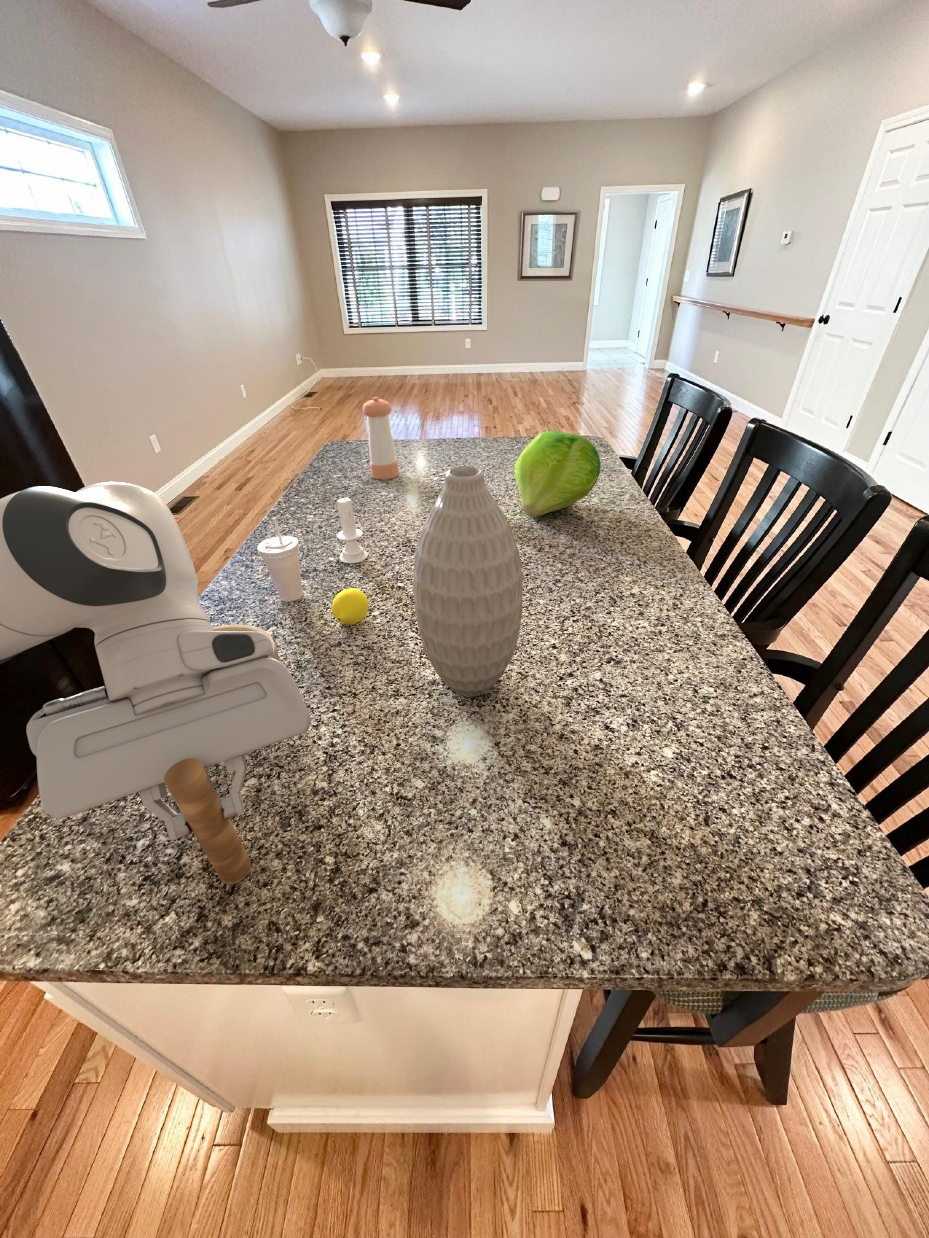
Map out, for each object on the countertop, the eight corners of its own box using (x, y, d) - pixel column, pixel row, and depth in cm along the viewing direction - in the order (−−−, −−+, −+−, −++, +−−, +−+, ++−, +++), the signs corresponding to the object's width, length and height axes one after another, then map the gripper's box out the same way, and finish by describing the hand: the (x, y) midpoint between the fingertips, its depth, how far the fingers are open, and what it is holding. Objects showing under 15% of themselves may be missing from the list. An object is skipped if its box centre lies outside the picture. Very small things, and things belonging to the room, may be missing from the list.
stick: (222, 890, 46) (165, 793, 38) (217, 865, 48) (161, 767, 40) (254, 874, 47) (205, 776, 39) (247, 850, 49) (200, 752, 41)
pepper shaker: (366, 478, 133) (355, 400, 122) (377, 469, 139) (367, 393, 128) (393, 480, 131) (384, 400, 120) (402, 470, 137) (394, 394, 126)
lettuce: (488, 503, 116) (502, 465, 100) (536, 442, 121) (557, 396, 105) (549, 547, 116) (573, 516, 100) (594, 483, 121) (625, 444, 105)
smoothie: (313, 600, 85) (294, 522, 77) (273, 609, 83) (250, 530, 75) (308, 582, 90) (290, 507, 82) (270, 590, 88) (248, 514, 80)
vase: (495, 728, 61) (496, 503, 45) (404, 697, 66) (375, 483, 50) (533, 665, 70) (545, 460, 54) (451, 642, 75) (439, 447, 59)
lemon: (348, 606, 83) (342, 577, 80) (378, 611, 82) (373, 582, 79) (326, 631, 78) (319, 601, 75) (357, 636, 77) (352, 606, 74)
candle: (373, 554, 98) (365, 494, 91) (354, 566, 94) (343, 504, 88) (353, 548, 101) (343, 489, 94) (333, 559, 97) (321, 499, 90)
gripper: (-1, 707, 38) (44, 894, 36) (282, 627, 45) (331, 781, 43) (40, 711, 44) (80, 873, 42) (285, 641, 51) (327, 776, 49)
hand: (209, 826), depth 43 cm, fingers closed on stick, 3 cm apart
